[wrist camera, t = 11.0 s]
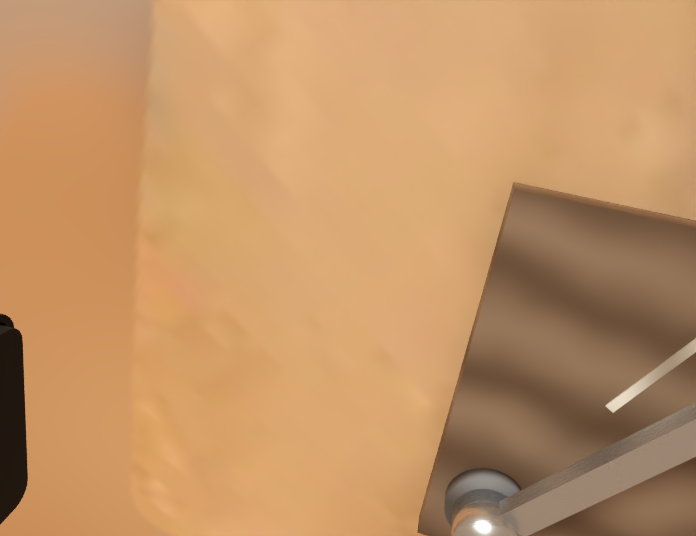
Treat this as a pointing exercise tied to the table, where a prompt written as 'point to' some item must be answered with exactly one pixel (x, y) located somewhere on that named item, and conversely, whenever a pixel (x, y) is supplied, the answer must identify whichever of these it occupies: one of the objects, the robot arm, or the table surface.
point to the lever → (579, 481)
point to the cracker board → (574, 361)
